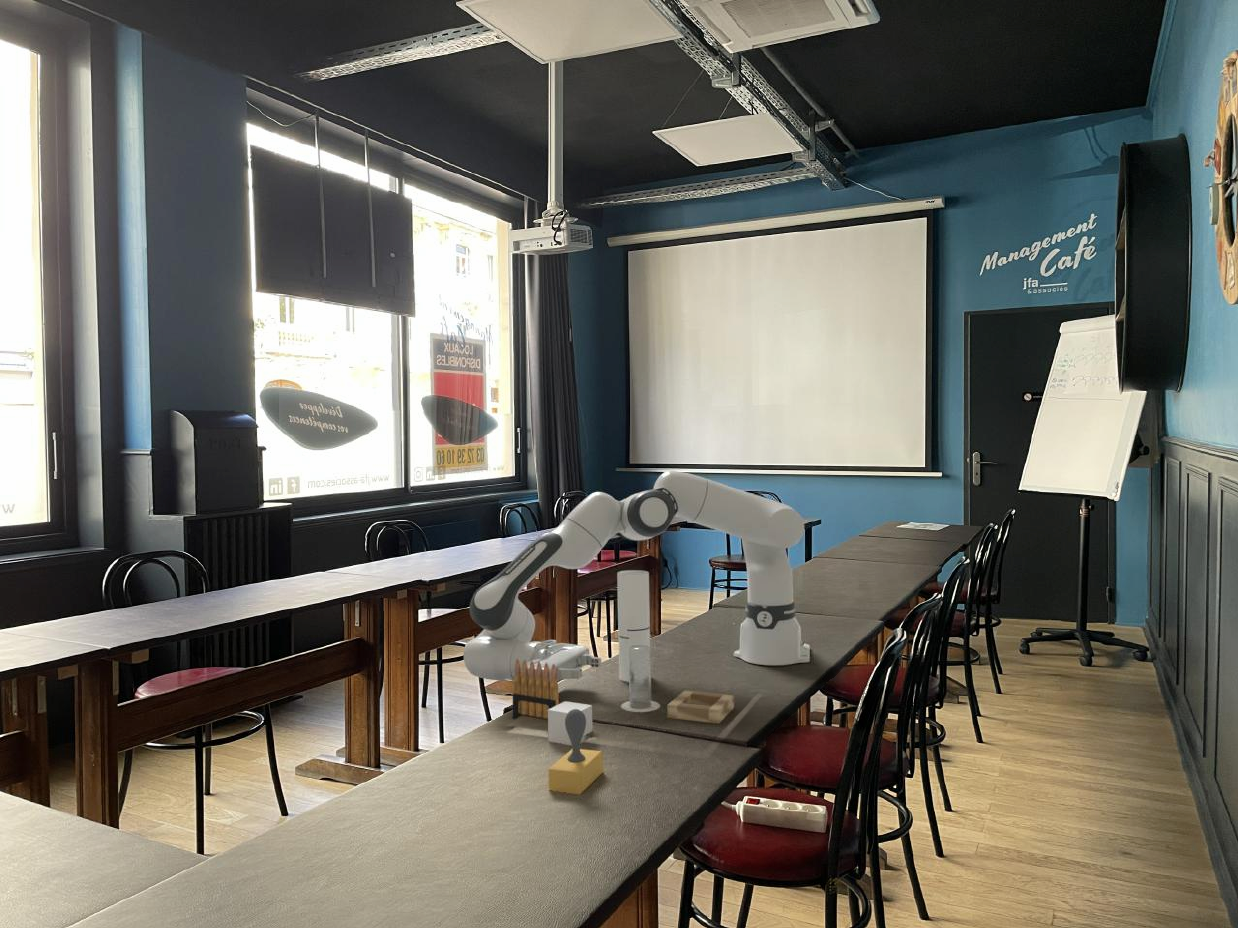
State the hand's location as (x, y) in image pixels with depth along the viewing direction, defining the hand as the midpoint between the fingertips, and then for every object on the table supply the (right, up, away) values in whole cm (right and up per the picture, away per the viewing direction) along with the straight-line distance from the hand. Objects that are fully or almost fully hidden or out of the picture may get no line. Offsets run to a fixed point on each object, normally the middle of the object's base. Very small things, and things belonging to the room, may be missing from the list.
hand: (590, 667), depth 190 cm
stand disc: (+10, -8, -4) cm, 14 cm away
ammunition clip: (-10, -9, -9) cm, 17 cm away
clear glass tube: (+10, -7, -4) cm, 13 cm away
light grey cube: (-3, -9, -20) cm, 22 cm away
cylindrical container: (+10, -7, +17) cm, 21 cm away
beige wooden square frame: (+22, -8, -9) cm, 25 cm away
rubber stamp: (-1, -10, -41) cm, 42 cm away
